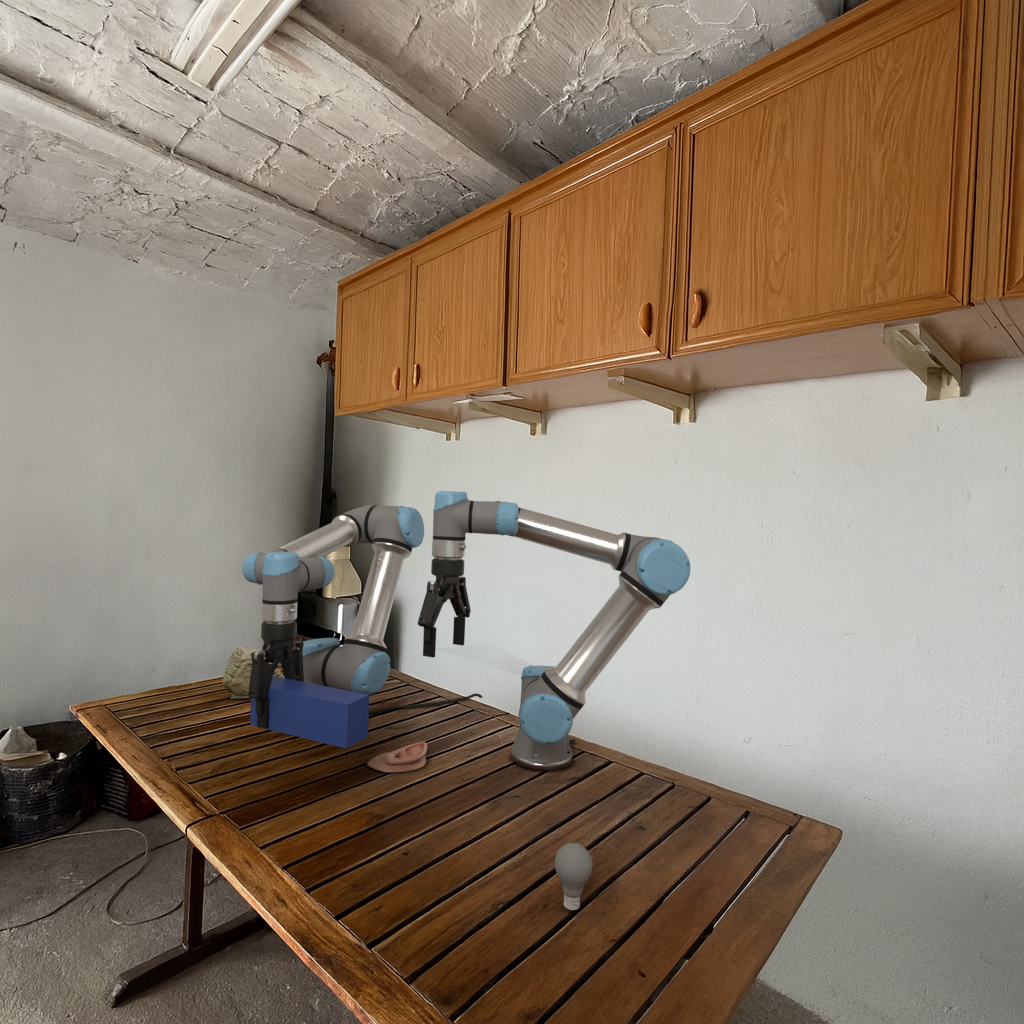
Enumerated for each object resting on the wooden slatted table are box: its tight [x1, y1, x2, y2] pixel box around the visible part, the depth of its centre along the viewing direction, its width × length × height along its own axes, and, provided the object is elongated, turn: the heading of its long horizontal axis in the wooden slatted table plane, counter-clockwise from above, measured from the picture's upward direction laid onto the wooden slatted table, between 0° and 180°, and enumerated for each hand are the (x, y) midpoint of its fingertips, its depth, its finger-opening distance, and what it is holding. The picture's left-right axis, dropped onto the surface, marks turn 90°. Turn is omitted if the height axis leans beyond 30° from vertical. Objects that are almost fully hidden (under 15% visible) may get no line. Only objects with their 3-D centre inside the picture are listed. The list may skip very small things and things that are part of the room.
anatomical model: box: [366, 741, 428, 773], centre depth 152 cm, size 13×4×12 cm
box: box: [249, 676, 370, 750], centre depth 139 cm, size 27×7×9 cm, turn 66°
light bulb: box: [554, 842, 594, 911], centre depth 100 cm, size 6×6×10 cm
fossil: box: [222, 646, 285, 699], centre depth 198 cm, size 9×18×15 cm, turn 132°
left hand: (276, 721), depth 143 cm, fingers closed on box, 7 cm apart
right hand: (444, 650), depth 146 cm, fingers open, 13 cm apart
